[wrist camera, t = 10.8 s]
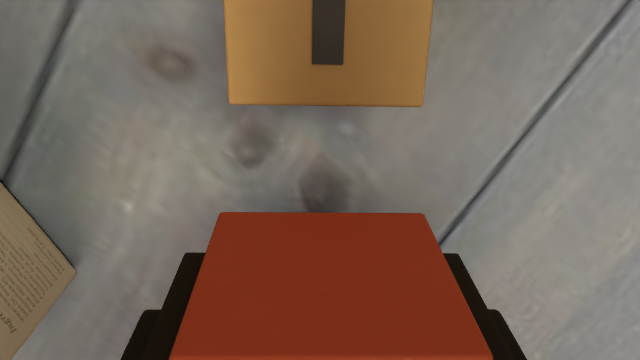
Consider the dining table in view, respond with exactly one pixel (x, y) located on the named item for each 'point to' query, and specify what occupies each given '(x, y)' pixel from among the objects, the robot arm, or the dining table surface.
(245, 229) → the red cross cube
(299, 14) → the line block
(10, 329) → the small box
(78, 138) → the dining table surface
